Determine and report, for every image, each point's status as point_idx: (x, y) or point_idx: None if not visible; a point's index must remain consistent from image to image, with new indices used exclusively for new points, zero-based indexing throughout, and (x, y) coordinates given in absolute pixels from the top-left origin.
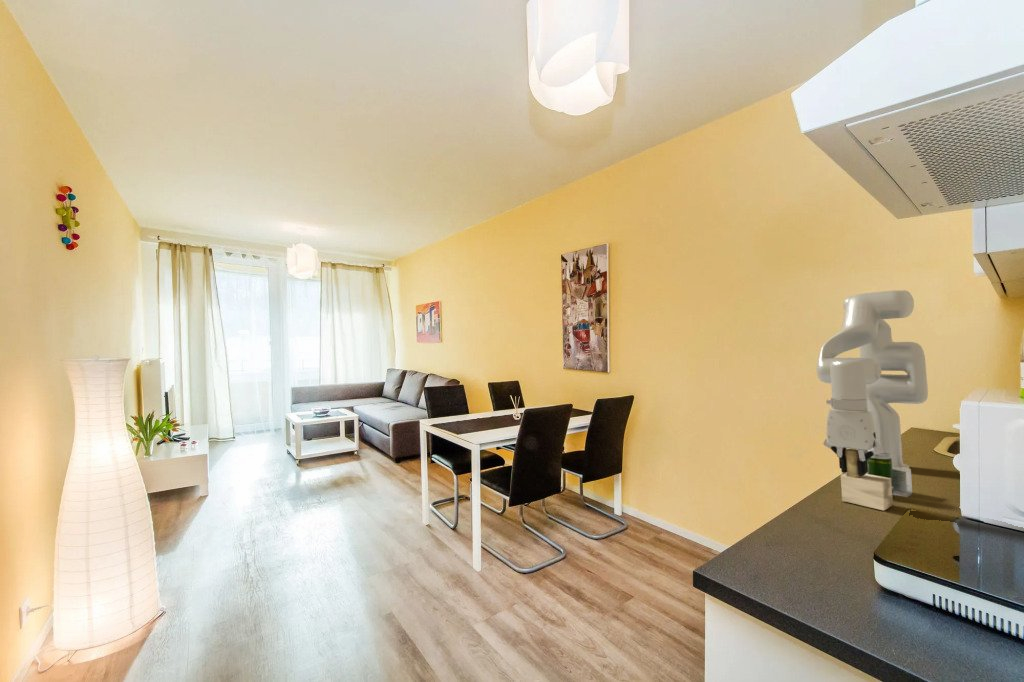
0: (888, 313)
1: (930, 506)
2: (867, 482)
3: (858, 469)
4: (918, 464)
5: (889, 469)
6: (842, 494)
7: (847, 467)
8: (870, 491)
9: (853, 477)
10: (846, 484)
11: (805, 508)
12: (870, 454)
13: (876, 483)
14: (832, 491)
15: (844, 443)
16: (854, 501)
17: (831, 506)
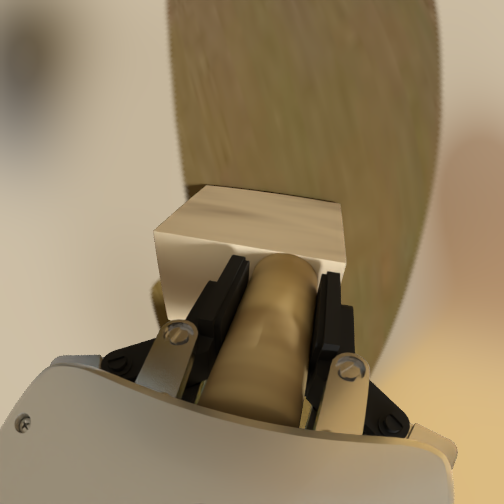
0: None
1: (160, 305)
2: (217, 234)
3: (235, 280)
4: None
5: (202, 389)
6: (338, 214)
7: (304, 298)
8: (221, 213)
9: (279, 252)
10: (319, 233)
11: (419, 36)
12: (112, 357)
13: (178, 230)
14: (381, 301)
15: (257, 471)
16: (296, 200)
17: (358, 118)
